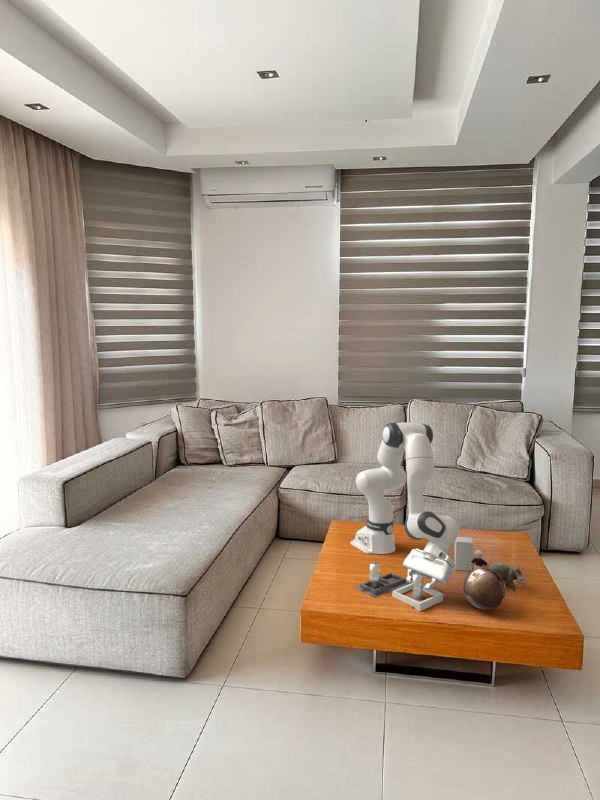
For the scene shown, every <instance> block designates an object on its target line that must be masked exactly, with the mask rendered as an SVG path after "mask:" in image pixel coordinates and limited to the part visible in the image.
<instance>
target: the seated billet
mask: <svg viewBox="0 0 600 800" xmlns="http://www.w3.org/2000/svg"><path fill="white" fill-rule="evenodd" d="M380 577H381V564H380V562H376V561H373V562H372V561H371V562H370V563H369V581H370V587H371V588H373V589H377V588H380Z"/></svg>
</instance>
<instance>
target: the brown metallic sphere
mask: <svg viewBox="0 0 600 800" xmlns="http://www.w3.org/2000/svg"><path fill="white" fill-rule="evenodd" d="M463 581H464V582H463V593H464V597H465V598H466V601H468V602H469V603H470V604H471V605H472V606H473V607H475V608H477V609H480V610H483V611H489V610H494V609H496V608H497V607H499V606H500V605H501V604H502V603H503V602H504V599H505V596H506V592H507V590H506V582H504V581H503V579H502V578H501V576H500V575H499V574H498V573H497V572H495V571H494V570H492V569H489V568H486V567H483V568H477V569H474V568H473V569H472V571H469V573H468V574H467V575H466V577H465V578H464V580H463Z"/></svg>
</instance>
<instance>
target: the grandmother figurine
mask: <svg viewBox="0 0 600 800" xmlns="http://www.w3.org/2000/svg"><path fill="white" fill-rule="evenodd" d="M484 555H485V554H484V552H483V551H482V550H480V549H477V550H476V551H475V557H474V558H473V560H472V561H471V564H470V566H472V564H473V566H472V567H473V570H474V569H477V568H484V567H485V568H489V565H488V562H487V561H486V560H485V559H483V557H484Z"/></svg>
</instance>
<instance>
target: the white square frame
mask: <svg viewBox="0 0 600 800" xmlns="http://www.w3.org/2000/svg"><path fill="white" fill-rule="evenodd" d="M425 586H426V585H424V584H423V593H426V594H428V595H431V597H428V598H426V599H424V600H421V601H418V600H416V599H413V598H412V597H409V596H407V595H404V593H406V592H409V591H412V583H411V584H408V585H406V586H403V587H401V588H398V589H396V590H393V591H391V596H392V597H393V598H395V599H398V600H399V601H401V602H403V603H406V604H408V605H410V606H412V608H411V609H413V608H414V609H413V610H416V611H418V612H421V611H424V610H426V609H428V608H431V607H432V605H433V606H435V605H437V604H439V603H442V602H443V601H444V592H441V591H438V590H437V589H434V588H431V590H430V591H429V590H427V589H426V588H425ZM441 601H442V602H441ZM430 606H431V607H430Z"/></svg>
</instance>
